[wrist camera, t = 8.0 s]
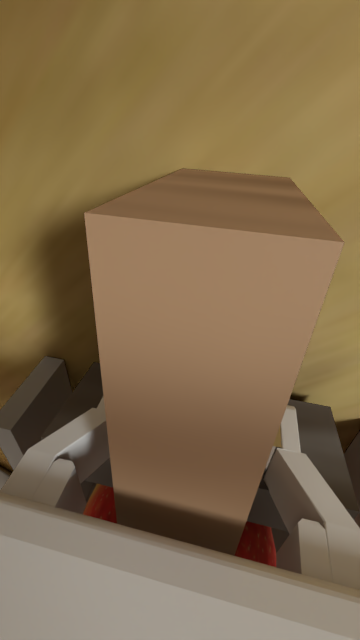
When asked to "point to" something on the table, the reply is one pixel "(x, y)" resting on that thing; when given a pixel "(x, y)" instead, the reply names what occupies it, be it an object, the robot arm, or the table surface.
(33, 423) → the tray
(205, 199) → the tan grey t-shaped block
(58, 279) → the table surface
